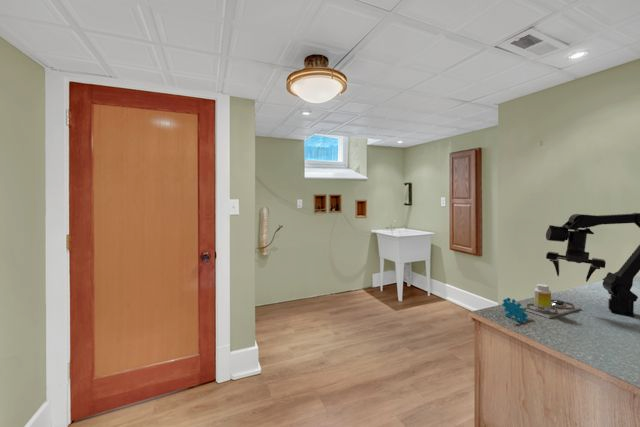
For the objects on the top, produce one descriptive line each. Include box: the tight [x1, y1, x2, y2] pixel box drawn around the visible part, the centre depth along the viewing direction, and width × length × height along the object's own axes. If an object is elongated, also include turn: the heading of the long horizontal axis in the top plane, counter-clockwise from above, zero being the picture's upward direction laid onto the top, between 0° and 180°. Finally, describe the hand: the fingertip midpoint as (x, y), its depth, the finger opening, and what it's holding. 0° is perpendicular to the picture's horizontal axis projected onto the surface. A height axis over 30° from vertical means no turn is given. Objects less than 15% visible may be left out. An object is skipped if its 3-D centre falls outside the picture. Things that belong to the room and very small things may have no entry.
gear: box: [501, 297, 528, 323], centre depth 113 cm, size 11×6×10 cm
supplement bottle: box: [533, 283, 552, 311], centre depth 118 cm, size 6×6×10 cm
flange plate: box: [520, 298, 581, 319], centre depth 121 cm, size 22×12×2 cm, turn 113°
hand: (571, 278), depth 122 cm, fingers open, 9 cm apart
